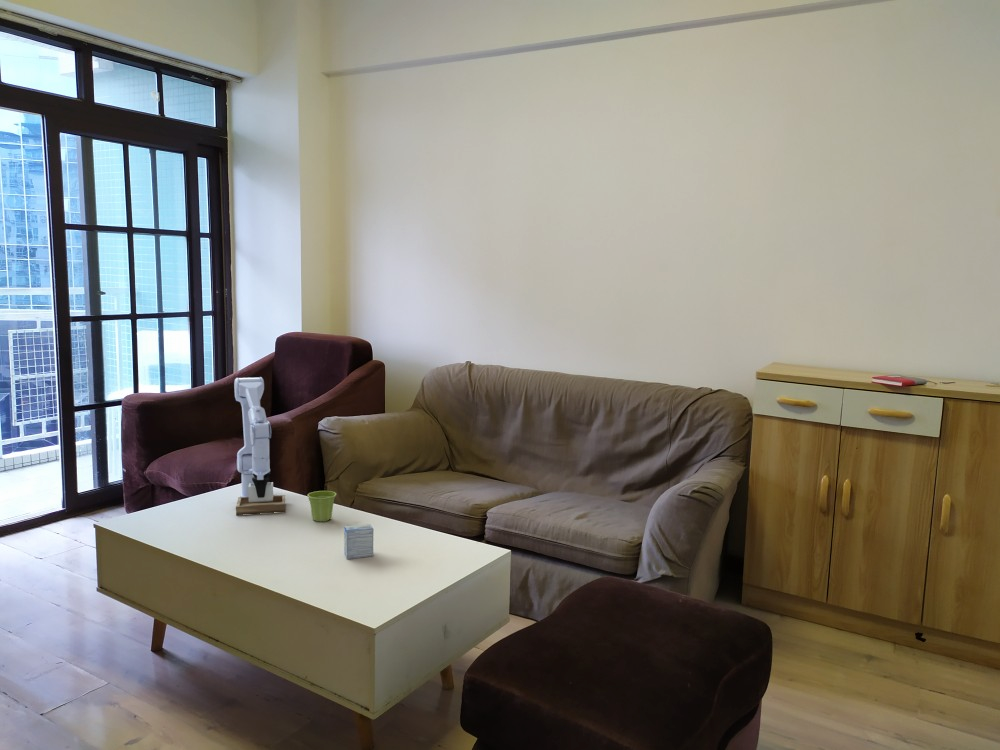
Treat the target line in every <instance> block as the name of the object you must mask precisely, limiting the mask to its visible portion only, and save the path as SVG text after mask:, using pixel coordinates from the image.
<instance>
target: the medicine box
mask: <svg viewBox="0 0 1000 750" xmlns="http://www.w3.org/2000/svg"><path fill="white" fill-rule="evenodd" d="M343 541H344V542H343V545H344V546H343V552H344V556H345V558H346V560H349V559H352V560H353V559H359V558H360V559H361V558H367V557H374V527H373V526H372V524H370V523H364V524H362V523H361V524H353V525H345V526H344V527H343Z"/></svg>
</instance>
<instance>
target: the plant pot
mask: <svg viewBox="0 0 1000 750" xmlns="http://www.w3.org/2000/svg"><path fill="white" fill-rule="evenodd" d="M336 496H337V492H335V491H331V490H318V491H313V492H309V493H308V494H307V498H308V500H309V503H310V509H311V518H312V520H313V521H314V520H315V521H316V522H318V521H323V522H327V521H330V520H329V519H331V520H332V515H333V509H334V503H335V502H334V501H335V498H336ZM326 520H327V521H326Z"/></svg>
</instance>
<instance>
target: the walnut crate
mask: <svg viewBox="0 0 1000 750" xmlns="http://www.w3.org/2000/svg"><path fill="white" fill-rule="evenodd" d="M274 512H285V513H286V494H279V495H277V494H275V495H274V494H273V501H266V502H249V497H239V496H238V497H237V502H236V506H235V516H244V515H243V514H253V515H261V514H260V513H271V514H275V513H274Z"/></svg>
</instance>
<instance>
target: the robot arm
mask: <svg viewBox="0 0 1000 750" xmlns="http://www.w3.org/2000/svg"><path fill="white" fill-rule="evenodd" d="M233 384H234V385H233V386H234V387H233V388H234V398H235V401H236V402H239V403H240V406H241V412H242V428H243V429H242V430H243V444H244V445H243V447H241V448H240V449H239V450H238V451H237V453H236V457H237V458H236V468H237V471H238V472H239V473H241V493H240V497H249V491H248V487H249V483H254V485H255V487H256V492H257V496H258V498H263V497H264V496H265V490H266V485H267V483H268V482H270V477H269V476H270V474H271V468H270V463H271V462H270V461H271V460H270V439H271V438H272V427H271V422H270V421H269V420H267V419H268V418H267V415H266V411H265V408H264V407H262V406H261V399H262V396H263V394H264V391H265V381H264V378H263V377H262V376H259V377H236V378H235V379H234V382H233Z"/></svg>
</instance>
